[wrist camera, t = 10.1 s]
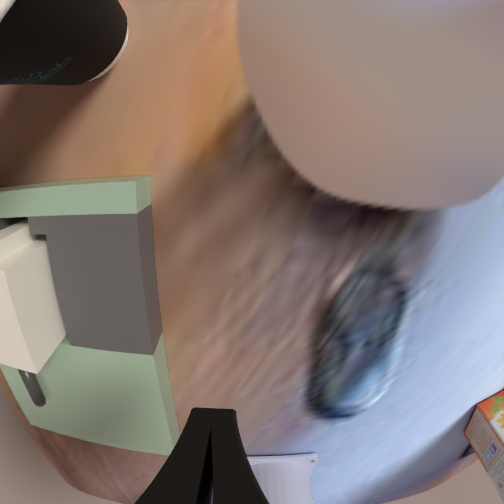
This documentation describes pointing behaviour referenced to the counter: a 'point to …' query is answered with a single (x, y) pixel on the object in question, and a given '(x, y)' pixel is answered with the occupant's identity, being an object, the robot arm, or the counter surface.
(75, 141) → the counter surface
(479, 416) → the cracker box
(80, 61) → the dixie cup
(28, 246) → the plug
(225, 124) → the counter surface
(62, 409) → the board
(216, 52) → the counter surface
